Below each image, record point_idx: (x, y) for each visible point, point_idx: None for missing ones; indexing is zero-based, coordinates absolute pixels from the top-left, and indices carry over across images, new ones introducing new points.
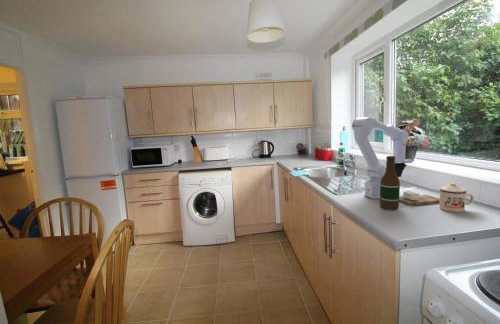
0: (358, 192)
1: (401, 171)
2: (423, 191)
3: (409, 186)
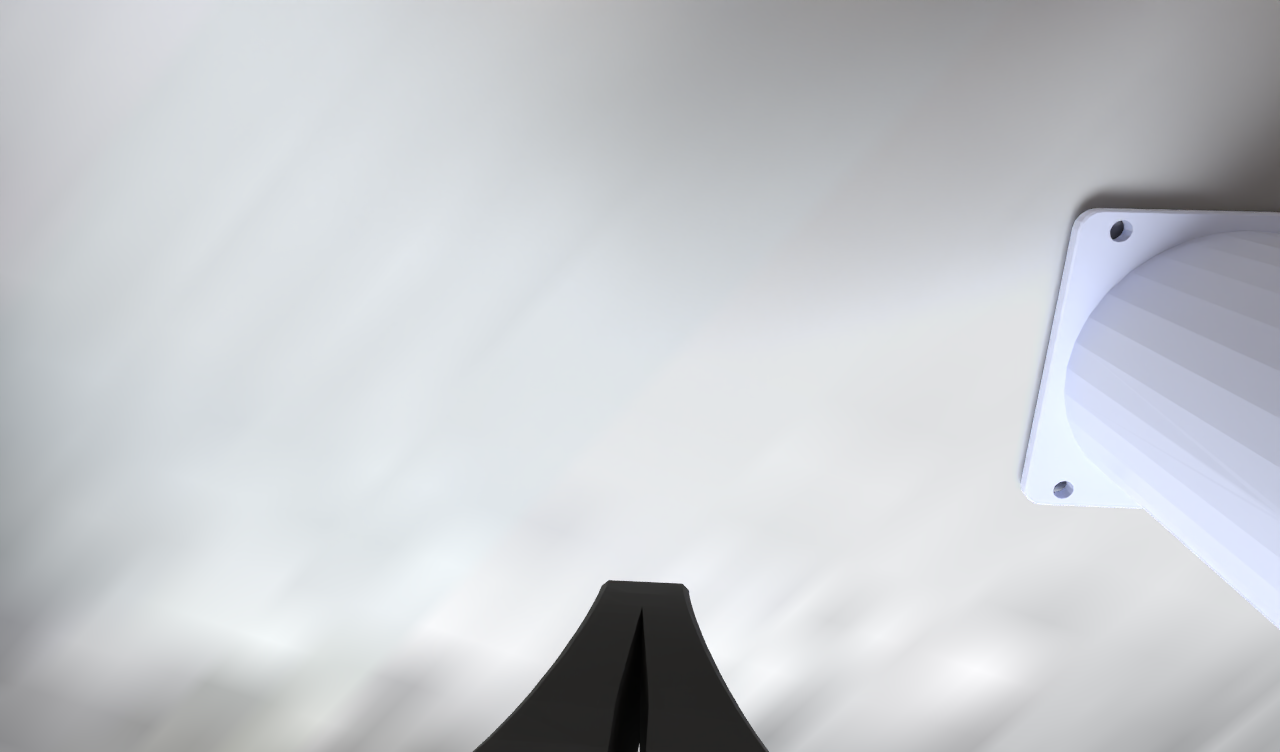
0: (1264, 687)
1: (601, 692)
2: (115, 376)
3: (129, 716)
